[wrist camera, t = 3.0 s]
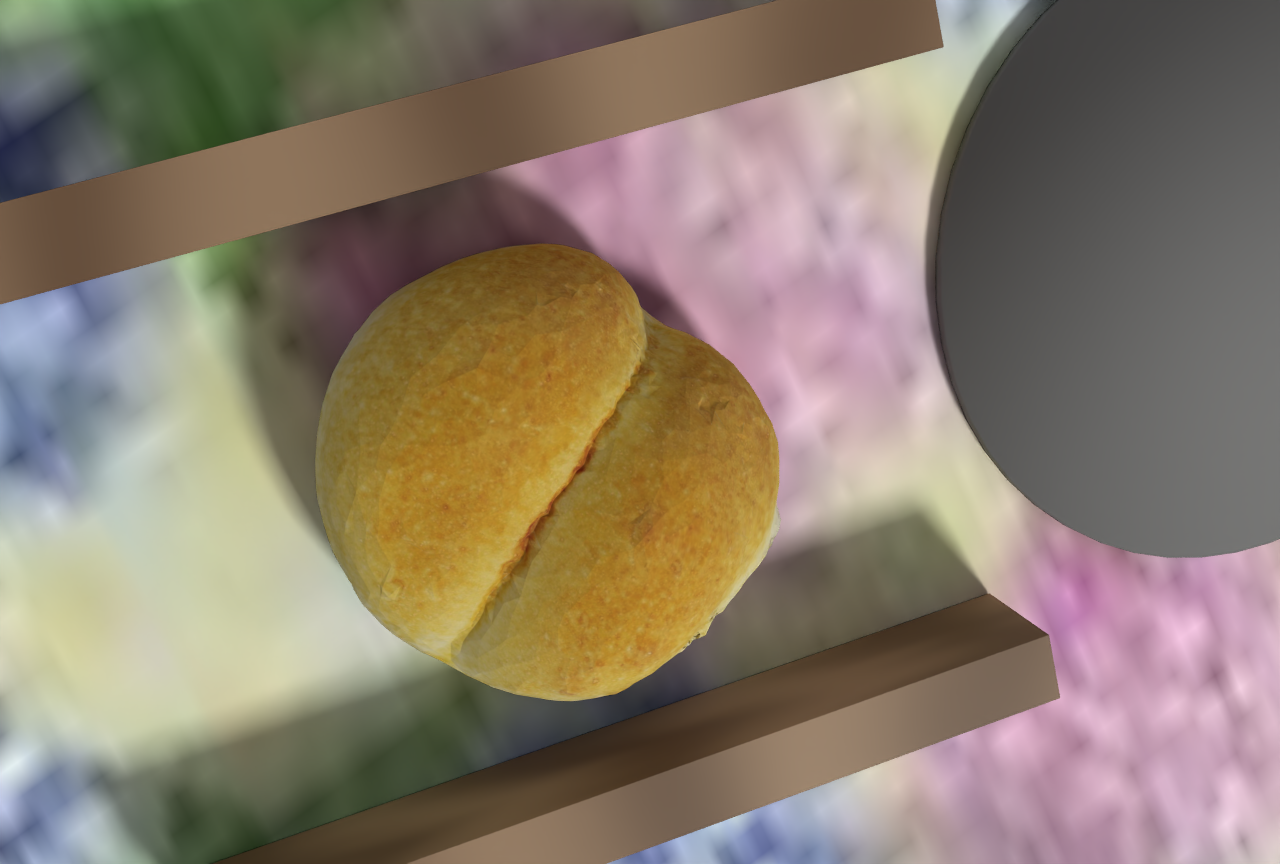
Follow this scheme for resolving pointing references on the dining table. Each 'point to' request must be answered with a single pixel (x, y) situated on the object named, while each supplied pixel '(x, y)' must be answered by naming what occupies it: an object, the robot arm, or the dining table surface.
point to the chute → (674, 734)
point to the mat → (1126, 272)
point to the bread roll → (542, 474)
